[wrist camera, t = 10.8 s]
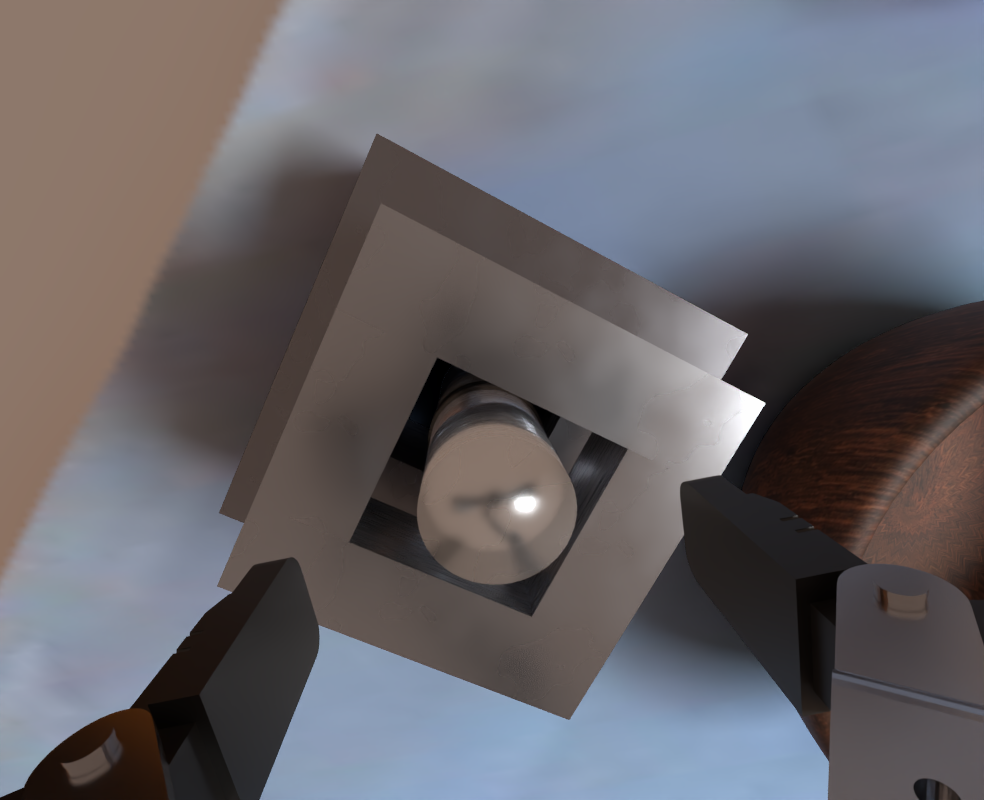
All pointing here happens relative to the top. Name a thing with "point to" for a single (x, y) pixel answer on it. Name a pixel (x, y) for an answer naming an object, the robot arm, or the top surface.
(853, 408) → the wooden bowl
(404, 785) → the top surface
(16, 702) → the top surface
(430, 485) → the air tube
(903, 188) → the top surface
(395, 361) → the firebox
